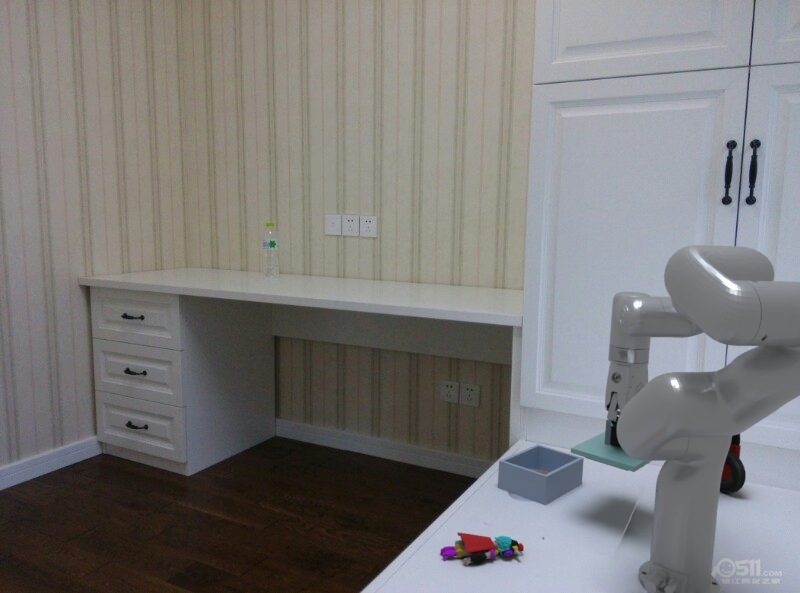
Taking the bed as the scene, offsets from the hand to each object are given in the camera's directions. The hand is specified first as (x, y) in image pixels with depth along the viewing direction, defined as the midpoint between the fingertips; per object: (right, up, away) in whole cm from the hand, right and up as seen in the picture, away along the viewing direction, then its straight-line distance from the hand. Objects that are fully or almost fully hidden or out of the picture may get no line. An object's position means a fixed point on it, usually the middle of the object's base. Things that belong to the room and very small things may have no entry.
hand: (621, 443), depth 131 cm
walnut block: (-14, -13, +13) cm, 24 cm away
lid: (0, -3, 0) cm, 3 cm away
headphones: (+24, -15, +16) cm, 33 cm away
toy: (-30, -17, -14) cm, 37 cm away
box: (-13, -14, +16) cm, 25 cm away
